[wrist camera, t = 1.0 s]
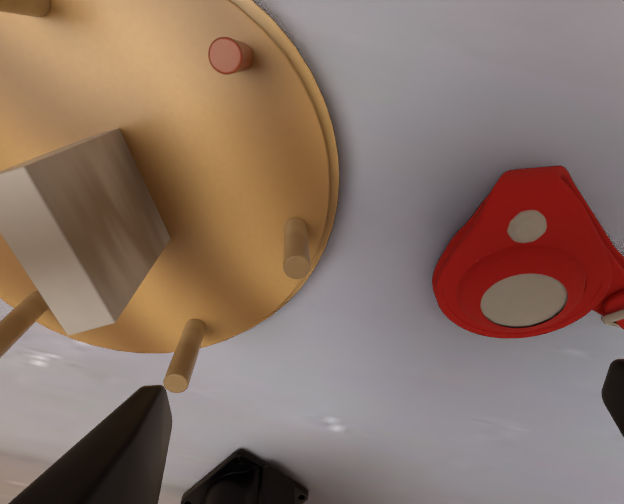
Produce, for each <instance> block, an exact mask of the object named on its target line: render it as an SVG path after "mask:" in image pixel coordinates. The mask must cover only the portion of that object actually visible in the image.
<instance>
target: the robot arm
mask: <svg viewBox="0 0 624 504" xmlns="http://www.w3.org/2000/svg"><path fill="white" fill-rule="evenodd" d="M602 399H603V402H604V404H605V406H606V407H607V409H608V411H609V413H610V414H611V416H612V418H613V420H614V421H615V423H616V425H617V426H618V428H619V430H620V432H621V433H622V435H623V437H624V359H617V360H614V361H613V362H612V363H611V364H610V367H609V370H608V373H607V376H606V379H605V382H604V385H603V388H602ZM171 429H172V415H171V410H170V406H169V401H168V397H167V392H166V389H165V388H164V386H162V385H152V386H143V387H141V388H139V389H138V390H137V391H136V392H135V393H134V394H133V395H131V396H130V397H129V398H128V399H127V400H126V401H125V402H123V403H122V404H121V405H120V406H119V407H118V408H117V409H115V410H114V411H113V412H112V413H111V414H110V415H109V416H108V417H106V418H105V419H104V420H103V421H102V422H101V423H100V424H98V425H97V426H96V427H95V428H94V429H93V430H92V431H90V432H89V433H88V434H87V435H86V436H85V437H84V438H82V439H81V440H80V441H79V442H78V443H77V444H76V445H75V446H73V447H72V448H71V449H70V450H69V451H68V452H67V453H65V454H64V455H63V456H62V457H61V458H60V459H59V460H57V461H56V462H55V463H54V464H53V465H52V466H51V467H49V468H48V469H47V470H46V471H45V472H44V473H43V474H42V475H40V476H39V477H38V478H37V479H36V480H35V481H34V482H32V483H31V484H30V485H29V486H28V487H27V488H26V489H24V490H23V491H22V492H21V493H20V494H19V495H18V496H17V497H15V498H14V499H13V500H12V501H11V502H10V503H9V504H158V499H159V494H160V489H161V484H162V478H163V473H164V467H165V462H166V456H167V451H168V446H169V440H170V435H171ZM240 458H241V459H240ZM308 497H309V495H308V489H306V488H305V487H303V486H302V485H300V484H298V483H297V482H295V481H293V480H292V479H290V478H288V477H287V476H285V475H283V474H282V473H280V472H278V471H277V470H275V469H273V468H272V467H270V466H268V465H267V464H265V463H264V462H262V461H260V460H259V459H257V458H255V457H254V456H252V455H250V454H249V453H247V452H245V451H241V450H240V451H236V452H235V453H233V454H232V455H231V456H230V457H229V458H227V459H226V460H225V461H224V462H223V463H221V464H220V465H219V466H218V467H217V468H215V469H214V470H213V471H212V472H211V473H209V474H208V475H207V476H206V477H205V478H203V479H202V480H201V481H200V482H199V483H197V484H196V485H195V486H194V487H193V488H191V489H190V490H189V491H188V492H187V493H185V494H184V495H183V496H182V500H181V504H302V503H304V502H305V501H306V500H307V499H308Z"/></svg>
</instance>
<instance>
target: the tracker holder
mask: <svg viewBox="0 0 624 504" xmlns="http://www.w3.org/2000/svg"><path fill="white" fill-rule="evenodd" d="M432 285H433V291H434V294H435V297H436V299H437V302H438V305H439V307H440V309H441V310H442V312H443V313H444V314H445V315H446V316H447V317H448V318H449V320H451V321H452V322H454V323H455V324H456V325H458V326H460V327H462V328H463V329H466V330H468V331H470V332H473V333H476V334H479V335H483V336H488V337H496V338H524V337H531V336H537V335H541V334H546V333H549V332H552V331H555V330H558V329H560V328H563V327H565V326H568V325H570V324H572V323H573V322H575V321H577V320H579V319H580V318H582V317H583V316H585V315H586V314H587V313H589V312H590V311H591V310H594V311H595V312H597V313H599V314H601V315H603V316H602V317H601V320H602V321H603V323H604V324H608V325H613V326H617V327H621V328H622V329H624V257H623V256H622V255H621V253H620V252H619V251H618V250H617V249H616V248H615V247H614V246H613V244H612V242H611V241H610V239H609V238H608V236H607V235H606V233H605V231H604V230H603V228H602V227H601V225H600V223H599V222H598V220H597V219H596V217H595V216H594V214H593V212H592V211H591V209H590V208H589V206H588V205H587V203H586V201H585V200H584V198H583V197H582V195H581V194H580V192H579V190H578V189H577V187H576V186H575V184H574V182H573V180H572V178H571V177H570V175H569V173H568V171H567V170H566V169H565V168H564V167H563V166H549V167H538V168H526V169H516V170H509V171H506V172H505V173H504V174H503V175H502V176H501V177H500V178H499V180H498V181H497V183H496V184H495V186H494V187H493V189H492V191H491V192H490V194H489V195H488V196H487V197H486V198H485V200H484V201H483V202H482V203H481V205H480V206H479V208H478V209H477V211H476V212H475V213H474V215H473V216H472V217H471V218H470V220H469V221H468V222H467V223H466V224H465V225H464V226H463V227H462V228H461V229H460V230H459V231H458V232H457V233H456V235H455V236H454V237H453V238H452V240H451V241H450V242H449V244H448V246H447V247H446V249H445V250H444V252H443V254H442V255H441V257H440V259H439V261H438V263H437V265H436V267H435V270H434V273H433V278H432Z"/></svg>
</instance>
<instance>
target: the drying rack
mask: <svg viewBox="0 0 624 504" xmlns="http://www.w3.org/2000/svg"><path fill="white" fill-rule="evenodd" d="M329 192H330V178H329V162H328V156H327V151H326V146H325V140H324V135H323V132H322V129H321V126H320V123H319V120H318V117H317V114H316V111H315V108H314V105H313V103H312V101H311V99H310V97H309V95H308V93H307V91H306V89H305V87H304V85H303V83H302V81H301V79H300V77H299V76H298V74H297V73H296V71H295V69H294V68H293V66H292V65H291V63H290V62H289V60H288V59H287V57H286V56H285V54H284V53H283V52H282V50H281V49H280V48H279V47H278V46H277V44H276V43H275V42H274V41H273V40H272V39H271V37H270V36H269V35H268V34H267V33H266V31H265V30H264V29H263V28H262V27H261V26H260V25H259V24H258V23H256V22H255V21H254V20H253V19H252V18H251V17H250V16H249V15H248V14H247V13H246V12H244V11H243V10H242V9H241V8H240V7H239V6H238V5H236V4H235V3H234V2H232V1H231V0H0V298H1V299H2V300H3V301H5V302H6V303H7V304H9V305H10V306H12V307H13V308H14V309H13V310H12V311H11V312H10V313H9V314H8V315H7V316H5V317H4V318H3V319H2V320H1V321H0V358H1V357H2V356H3V355H4V354H5V353H6V352H7V351H8V349H9V348H10V347H11V346H12V345H13V344H14V343H15V342H16V341H17V340H18V339H19V338H20V337H21V336H22V335H23V334H24V333H25V332H26V331H27V330H28V329H29V328H30V327H31V326H32V325H33V324H34V323H35V322H38V323H39V324H41V325H43V326H45V327H47V328H49V329H51V330H53V331H56V332H58V333H60V334H63V335H65V336H67V337H70V338H72V339H75V340H78V341H82V342H85V343H88V344H91V345H94V346H99V347H103V348H108V349H113V350H118V351H126V352H135V353H170V352H175V353H174V355H173V358H172V360H171V363H170V365H169V368H168V370H167V373H166V376H165V378H164V382H163V383H164V386H165V388H166V389H167V390H169V391H170V392H174V393H180V392H183V391H185V390H186V389H187V387H188V385H189V382H190V378H191V375H192V372H193V369H194V365H195V362H196V359H197V356H198V353H199V349H200V348H202V347H206V346H209V345H212V344H215V343H218V342H222V341H225V340H227V339H229V338H231V337H233V336H236V335H238V334H240V333H242V332H244V331H246V330H248V329H249V328H251V327H252V326H254V325H255V324H257V323H259V322H260V321H262V320H263V319H264V318H266V317H267V316H268V315H269V314H271V313H272V312H273V311H274V310H275V309H277V308H278V307H279V306H280V305H281V304H282V303H283V302H284V301H285V300H286V298H287V297H288V296H289V295H290V294H291V293H292V292H293V291H294V290H295V288H296V287H297V285H298V284H299V282H300V281H301V280H302V278H304V277H305V276H306V275H307V274H308V273H309V272H310V269H311V263H312V261H313V259H314V257H315V255H316V253H317V250H318V247H319V244H320V241H321V239H322V236H323V233H324V228H325V223H326V218H327V214H328V207H329Z"/></svg>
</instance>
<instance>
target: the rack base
mask: <svg viewBox="0 0 624 504" xmlns="http://www.w3.org/2000/svg"><path fill="white" fill-rule="evenodd" d="M231 1H232V2H234V3H235V4H236V5H238V6H239V7H240V8H241V9H242V10H243V11H244V12H246V13H247V14H248V15H249V16H250V17H251V18H252V19H253V20H254V21H255V22H256V23H258V24H259V25H260V26H261V27H262V28H263V29H264V30H265V31H266V33H267V34H268V35H269V36H270V37H271V39H272V40H273V41H274V42H275V43H276V44H277V46H278V47H279V48H280V49H281V50H282V52H283V53H284V54H285V56H286V57H287V59H288V60H289V62H290V63H291V65H292V66H293V68H294V69H295V71H296V73H297V74H298V76H299V77H300V79H301V81H302V83H303V85H304V87H305V89H306V91H307V93H308V95H309V97H310V99H311V101H312V103H313V105H314V108H315V111H316V114H317V117H318V120H319V123H320V126H321V129H322V132H323V135H324V140H325V146H326V151H327V156H328V162H329V178H330V192H329V207H328V214H327V218H326V223H325V228H324V233H323V236H322V239H321V241H320V244H319V247H318V250H317V253H316V255H315V257H314V259H313V261H312V263H311V269H310V272H309V273H308V274H307V275H306V276H305V277H304V278H302V280H301V281H300V282H299V284H298V285H297V287H296V288H295V290H294V291H293V292H292V293H291V294H290V295H289V296H288V297H287V298H286V300H285V301H284V302H283V303H282V304H281V305H280V306H279V307H278V308H277V309H275V310H274V311H273V312H272V313H271V314H269V315H268V316H267V317H266V318H264V319H263V320H262V321H264V320H265V319H267V318H269V317H270V316H271V315H273V314H274V313H275V312H276V311H277V310H279V309H280V308H281V307H282V306H284V305H285V304H286V303H287V302H288V301H289V300H290V299H291V298H292V297H293V296H294V295H295V294H296V292H297V291H298V290H299V289H300V288H301V287H302V286H303V284H304V283H305V281H306V280H307V279H308V277H309V276H310V274H311V273H312V272H313V270H314V269H315V267H316V265H317V263H318V261H319V259H320V257H321V255H322V253H323V252H324V250H325V247H326V244H327V241H328V239H329V236H330V233H331V230H332V227H333V223H334V218H335V213H336V209H337V203H338V191H339V164H338V151H337V146H336V141H335V135H334V130H333V125H332V122H331V119H330V116H329V113H328V110H327V107H326V104H325V101H324V98H323V96H322V94H321V92H320V90H319V88H318V85H317V83H316V81H315V79H314V77H313V75H312V73H311V71H310V69H309V68H308V66H307V65H306V63H305V61H304V60H303V58H302V57H301V55H300V54H299V52H298V50H297V49H296V47H295V46H294V44H293V43H292V42H291V41H290V39H289V38H288V37H287V36H286V35H285V33H284V32H283V31H282V30H281V29H280V27H279V26H278V25H277V24H276V23H275V21H274V20H273V19H272V18H271V17H270V16H269V15H268V14H267V13H265V12H264V11H263V10H262V9H261V8H260V7H259V6H258V5H257V4H256V3H255V2H254V1H253V0H231ZM262 321H260V322H259V323H261V322H262ZM259 323H257V324H259ZM257 324H255V325H254V326H256V325H257ZM254 326H252V327H251V328H253V327H254ZM251 328H249V329H251ZM249 329H248V330H249ZM233 337H234V336H233Z"/></svg>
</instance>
